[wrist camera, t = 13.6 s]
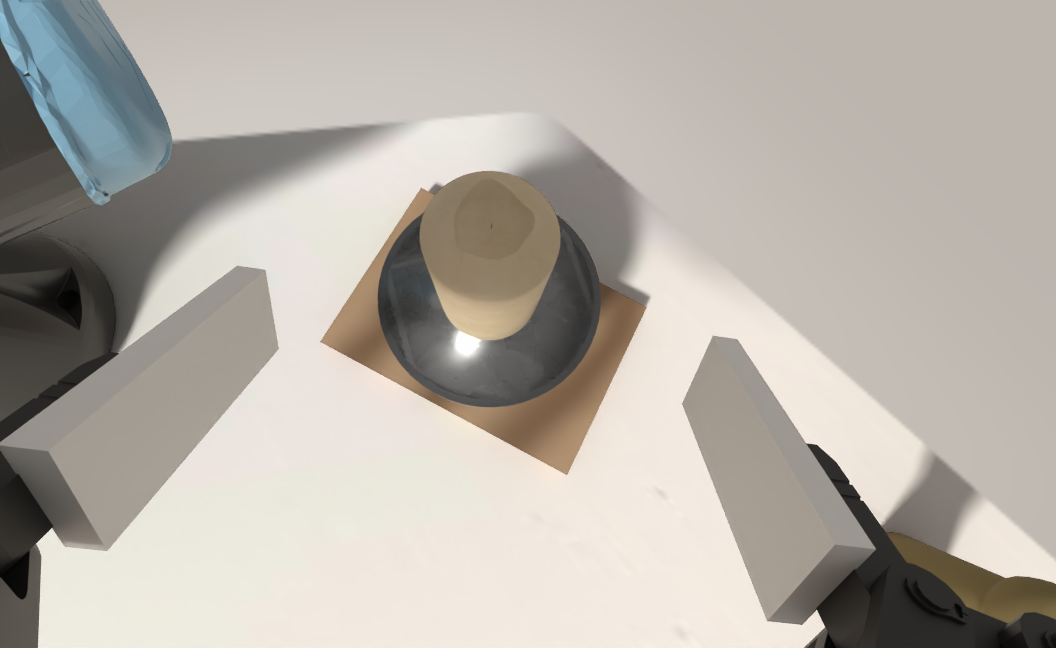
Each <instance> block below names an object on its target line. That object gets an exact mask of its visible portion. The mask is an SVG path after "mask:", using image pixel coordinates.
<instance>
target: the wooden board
mask: <svg viewBox="0 0 1056 648" xmlns="http://www.w3.org/2000/svg"><path fill="white" fill-rule="evenodd" d="M434 196H435V195H434V194H432V193H430V192H428V191H426V190H424V189H422V188H421V189H420V191H419V192H418V194H417V195H416V197H415V198H414V200H413V201H412V203H411V204H410V206H409V207H408V209H407V210H406V212H405V214H404V215H403V217H402V218H401V220H400V221H399V223H398V224H397V226H396V227H395V229H394V230H393V232H392V233H391V235H390V236H389V238H388V239H387V241H386V242H385V244H384V246H383V247H382V249H381V250H380V252H379V253H378V255H377V256H376V258H375V259H374V261H373V262H372V264H371V265H370V267H369V268H368V270H367V271H366V273H365V274H364V276H363V278H362V279H361V281H360V282H359V284H358V285H357V287H356V288H355V290H354V291H353V293H352V294H351V296H350V297H349V299H348V300H347V302H346V303H345V305H344V306H343V308H342V309H341V311H340V313H339V314H338V316H337V317H336V319H335V320H334V322H333V323H332V325H331V326H330V328H329V329H328V331H327V332H326V334H325V335H324V337H323V338H322V340H321V341H320V342H322V343H324V344H326V345H327V346H329V347H331V348H333V349H335V350H337V351H338V352H340V353H342V354H344V355H346V356H348V357H350V358H351V359H353V360H355V361H357V362H359V363H361V364H363V365H364V366H366V367H368V368H370V369H372V370H374V371H376V372H377V373H379V374H381V375H383V376H385V377H387V378H388V379H390V380H392V381H394V382H396V383H398V384H400V385H401V386H403V387H405V388H407V389H409V390H411V391H413V392H414V393H416V394H418V395H420V396H422V397H424V398H425V399H427V400H429V401H431V402H433V403H435V404H437V405H438V406H440V407H442V408H444V409H446V410H448V411H450V412H451V413H453V414H455V415H457V416H459V417H461V418H463V419H464V420H466V421H468V422H470V423H472V424H474V425H475V426H477V427H479V428H481V429H483V430H485V431H487V432H488V433H490V434H492V435H494V436H496V437H498V438H500V439H501V440H503V441H505V442H507V443H509V444H511V445H512V446H514V447H516V448H518V449H520V450H522V451H524V452H525V453H527V454H529V455H531V456H533V457H535V458H537V459H538V460H540V461H542V462H544V463H546V464H548V465H549V466H551V467H553V468H555V469H557V470H559V471H561V472H562V473H564V474H566V475H567V474H568V472H569V470H570V467H571V465H572V463H573V461H574V459H575V457H576V455H577V453H578V451H579V448H580V446H581V444H582V442H583V440H584V438H585V436H586V434H587V432H588V429H589V427H590V425H591V423H592V421H593V419H594V417H595V415H596V413H597V410H598V408H599V406H600V404H601V402H602V400H603V398H604V396H605V394H606V391H607V389H608V387H609V385H610V383H611V381H612V379H613V377H614V375H615V373H616V370H617V368H618V366H619V364H620V362H621V360H622V358H623V356H624V354H625V351H626V349H627V347H628V345H629V343H630V341H631V339H632V337H633V335H634V332H635V330H636V328H637V326H638V324H639V322H640V320H641V318H642V316H643V313H644V311H645V309H646V307H645V306H643V305H641V304H639V303H637V302H635V301H634V300H632V299H630V298H628V297H626V296H624V295H622V294H620V293H618V292H617V291H615V290H613V289H611V288H609V287H607V286H605V285H603V284H601V283H600V282H599V285H600V292H601V308H600V316H599V322H598V326H597V330H596V334H595V336H594V338H593V341H592V343H591V346H590V348H589V349H588V351H587V353H586V355H585V356H584V358H583V360H582V361H581V362H580V363H579V365H578V366H577V367H576V369H575V370H574V371H573V372H572V373H571V374H570V375H569V376H568V377H567V378H566V379H565V380H564V381H562V382H561V383H560V384H558V385H557V386H556V387H554V388H553V389H552V390H550V391H548V392H546V393H544V394H542V395H541V396H539V397H537V398H534V399H532V400H529V401H527V402H524V403H521V404H516V405H512V406H507V407H498V408H480V407H473V406H467V405H463V404H459V403H456V402H453V401H450V400H448V399H446V398H443V397H441V396H439V395H437V394H435V393H434V392H432V391H430V390H429V389H427V388H426V387H424V386H422V385H421V384H420V383H419V382H418V381H416V380H415V379H414V378H413V377H412V376H410V374H409V373H408V372H407V371H406V370H405V369H404V368H403V367H402V366H401V364H400V363H399V362H398V360H397V359H396V357H395V356H394V354H393V353H392V351H391V349H390V347H389V345H388V343H387V341H386V339H385V336H384V333H383V330H382V327H381V324H380V318H379V313H378V286H379V279H380V275H381V271H382V267H383V265H384V262H385V260H386V257H387V255H388V253H389V251H390V249H391V247H392V246H393V244H394V242H395V241H396V239H397V238H398V237H399V235H400V234H401V233H402V231H403V230H404V229H405V228H406V227H407V226H408V225H409V224H410V223H411V222H412V221H413V220H415V219H416V218H417V217H418V216H420V215H421V214H422V213H423V212H425V209H426V207H427V206H428V204H429V202H430V201H431V199H432V198H433V197H434Z"/></svg>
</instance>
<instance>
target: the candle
mask: <svg viewBox="0 0 1056 648" xmlns="http://www.w3.org/2000/svg"><path fill="white" fill-rule="evenodd" d="M560 237H561V236H560V227H559V223H558V219H557V217H556V214H555V211H554V210H553V208H552V206H551V204H550V203H549V201H548V200H547V199H546V197H545V196H544V195H543V194H542V193H541V192H540V191H539V190H538V189H537V188H535V187H534V186H533V185H531V184H530V183H528V182H527V181H525V180H523V179H521V178H519V177H516V176H514V175H511V174H507V173H502V172H495V171H482V172H475V173H470V174H467V175H464V176H461V177H459V178H456V179H455V180H453V181H451V182H449V183H448V184H447V185H445V186H444V187H442V188H441V189H440V190H439V191H438V192H437V193H436V194H435V196H434V197H433V198H432V199H431V201H430V202H429V204H428V206H427V207H426V209H425V212H424V214H423V217H422V221H421V225H420V245H421V251H422V254H423V257H424V260H425V262H426V265H427V268H428V270H429V273H430V276H431V278H432V281H433V284H434V286H435V289H436V292H437V294H438V297H439V300H440V302H441V305H442V307H443V310H444V312H445V314H446V316H447V317H448V319H449V320H450V322H451V323H452V324H453V325H454V326H455V327H456V328H457V329H458V330H460V331H461V332H463V333H464V334H466V335H468V336H470V337H473V338H476V339H480V340H499V339H503V338H506V337H509V336H511V335H513V334H515V333H516V332H518V331H519V330H520V329H522V328H523V327H524V326H525V325H526V324H527V322H528V321H529V320H530V318H531V317H532V315H533V313H534V311H535V309H536V307H537V304H538V302H539V300H540V297H541V295H542V293H543V290H544V288H545V286H546V284H547V281H548V279H549V277H550V274H551V272H552V270H553V267H554V265H555V263H556V260H557V257H558V254H559V249H560Z"/></svg>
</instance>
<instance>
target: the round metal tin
mask: <svg viewBox="0 0 1056 648" xmlns="http://www.w3.org/2000/svg"><path fill="white" fill-rule="evenodd" d="M423 214H424V212H423V213H422V214H421V215H420V216H418V217H417V218H416V219H415V220H413V221H412V222H411V223H410V224H409V225H408V226H407V227H406V228H405V229H404V230H403V231H402V233H401V234H400V235H399V237H398V238H397V239H396V241H395V242H394V244H393V246H392V247H391V249H390V251H389V253H388V255H387V257H386V260H385V262H384V265H383V267H382V271H381V275H380V279H379V286H378V313H379V318H380V324H381V327H382V330H383V333H384V336H385V339H386V341H387V343H388V345H389V347H390V349H391V351H392V353H393V354H394V356H395V357H396V359H397V360H398V362H399V363H400V364H401V366H402V367H403V368H404V369H405V370H406V371H407V372H408V373H409V374H410V376H412V377H413V378H414V379H415V380H416V381H418V382H419V383H420V384H421V385H422V386H424V387H426V388H427V389H429V390H430V391H432V392H434V393H435V394H437V395H439V396H441V397H443V398H446V399H448V400H450V401H453V402H456V403H459V404H463V405H467V406H473V407H480V408H498V407H507V406H512V405H516V404H521V403H524V402H527V401H529V400H532V399H534V398H537V397H539V396H541V395H542V394H544V393H546V392H548V391H550V390H552V389H553V388H554V387H556V386H557V385H558V384H560V383H561V382H562V381H564V380H565V379H566V378H567V377H568V376H569V375H570V374H571V373H572V372H573V371H574V370H575V369H576V367H577V366H578V365H579V363H580V362H581V361H582V360H583V358H584V356H585V355H586V353H587V351H588V349H589V348H590V346H591V343H592V341H593V338H594V336H595V334H596V330H597V326H598V322H599V316H600V308H601V292H600V285H599V279H598V275H597V272H596V268H595V265H594V263H593V260H592V258H591V256H590V253H589V252H588V250H587V248H586V247H585V245H584V243H583V242H582V240H581V239H580V238H579V236H578V235H577V234H576V233H575V231H574V230H573V229H572V228H571V227H570V226H569V225H568V224H567V223H566V222H565V221H564V220H562V219H561V218H560V217H559V216H557V215H556V217H557V219H558V223H559V227H560V236H561V237H560V249H559V254H558V257H557V260H556V263H555V265H554V267H553V270H552V272H551V274H550V277H549V279H548V281H547V284H546V286H545V288H544V290H543V293H542V295H541V297H540V300H539V302H538V304H537V307H536V309H535V311H534V313H533V315H532V317H531V318H530V320H529V321H528V322H527V324H526V325H525V326H524V327H523V328H522V329H520V330H519V331H518V332H516V333H515V334H513V335H511V336H509V337H506V338H503V339H499V340H480V339H476V338H473V337H470V336H468V335H466V334H464V333H463V332H461V331H460V330H458V329H457V328H456V327H455V326H454V325H453V324H452V323H451V322H450V320H449V319H448V317H447V316H446V314H445V312H444V310H443V307H442V305H441V302H440V300H439V297H438V294H437V292H436V289H435V286H434V284H433V281H432V278H431V276H430V273H429V270H428V268H427V265H426V262H425V260H424V257H423V254H422V251H421V245H420V225H421V221H422V217H423Z"/></svg>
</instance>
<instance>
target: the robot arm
mask: <svg viewBox="0 0 1056 648" xmlns="http://www.w3.org/2000/svg"><path fill="white" fill-rule="evenodd" d="M171 153H172V137H171V133H170V129H169V126H168V123H167V120H166V118H165V116H164V114H163V111H162V109H161V107H160V105H159V103H158V101H157V99H156V97H155V95H154V93H153V91H152V89H151V88H150V86H149V84H148V82H147V80H146V79H145V77H144V75H143V73H142V72H141V70H140V68H139V66H138V65H137V63H136V61H135V60H134V58H133V56H132V54H131V53H130V51H129V50H128V48H127V46H126V45H125V43H124V41H123V40H122V38H121V37H120V35H119V33H118V32H117V30H116V29H115V27H114V25H113V24H112V22H111V21H110V19H109V17H108V16H107V14H106V13H105V11H104V10H103V8H102V7H101V5H100V4H99V2H98V1H97V0H0V648H38V627H39V601H40V575H41V554H40V551H39V549H38V547H37V545H36V543H37V542H38V541H39V540H40V539H41V538H42V537H43V536H44V535H45V534H46V533H47V532H48V531H49V530H50V529H51V528H53V530H54V531H55V533H56V534H57V536H58V537H59V539H60V540H61V542H62V543H63V545H64V546H66V547H75V548H85V549H94V550H104V551H107V550H108V549H109V548H110V547H111V546H112V545H113V543H114V542H115V541H116V540H117V539H118V537H119V536H120V535H121V534H122V533H123V532H124V530H125V529H126V528H127V527H128V526H129V524H130V523H131V522H132V521H133V520H134V519H135V517H136V516H137V515H138V514H139V513H140V512H141V510H142V509H143V508H144V507H145V506H146V504H147V503H148V502H149V501H150V500H151V499H152V497H153V496H154V495H155V494H156V493H157V492H158V490H159V489H160V488H161V487H162V486H163V484H164V483H165V482H166V481H167V480H168V479H169V477H170V476H171V475H172V474H173V473H174V471H175V470H176V469H177V468H178V467H179V466H180V464H181V463H182V462H183V461H184V460H185V459H186V457H187V456H188V455H189V454H190V453H191V451H192V450H193V449H194V448H195V447H196V446H197V444H198V443H199V442H200V441H201V440H202V438H203V437H204V436H205V435H206V434H207V433H208V431H209V430H210V429H211V428H212V427H213V426H214V424H215V423H216V422H217V421H218V420H219V418H220V417H221V416H222V415H223V414H224V413H225V411H226V410H227V409H228V408H229V407H230V405H231V404H232V403H233V402H234V401H235V400H236V398H237V397H238V396H239V395H240V394H241V393H242V391H243V390H244V389H245V388H246V387H247V385H248V384H249V383H250V382H251V381H252V380H253V378H254V377H255V376H256V375H257V374H258V373H259V371H260V370H261V369H262V368H263V367H264V365H265V364H266V363H267V362H268V361H269V360H270V358H271V357H272V356H273V355H274V354H275V352H276V351H277V350H278V349H279V348H278V342H277V336H276V330H275V325H274V319H273V313H272V307H271V301H270V295H269V289H268V283H267V277H266V271H265V270H262V269H255V268H248V267H242V266H237V267H235V268H234V269H232V270H231V271H230V272H228V273H227V274H226V275H224V276H223V277H222V278H220V279H219V280H218V281H216V282H215V283H214V284H212V285H211V286H210V287H208V288H207V289H206V290H204V291H203V292H202V293H200V294H199V295H198V296H196V297H195V298H193V299H192V300H191V301H189V302H188V303H187V304H185V305H184V306H183V307H181V308H180V309H179V310H177V311H176V312H175V313H173V314H172V315H171V316H169V317H168V318H167V319H165V320H164V321H163V322H161V323H160V324H158V325H157V326H156V327H154V328H153V329H152V330H150V331H149V332H148V333H146V334H145V335H144V336H142V337H141V338H140V339H138V340H137V341H136V342H134V343H133V344H132V345H130V346H129V347H128V348H126V349H125V350H124V351H122V352H121V353H113V352H109V349H110V346H111V343H112V339H113V334H114V327H115V308H114V301H113V297H112V293H111V290H110V287H109V285H108V283H107V281H106V279H105V277H104V275H103V274H102V272H101V271H100V269H99V268H98V267H97V266H96V265H95V263H94V262H93V261H92V260H91V259H90V258H88V257H87V256H86V255H85V254H84V253H82V252H81V251H79V250H78V249H76V248H75V247H73V246H71V245H69V244H67V243H65V242H63V241H60V240H58V239H55V238H53V237H51V236H48V235H46V234H44V233H41V232H39V231H36V229H38V228H41V227H43V226H45V225H47V224H50V223H52V222H54V221H57V220H59V219H61V218H63V217H66V216H68V215H70V214H73V213H75V212H77V211H79V210H82V209H84V208H86V207H88V206H91V205H93V204H96V205H100V206H101V205H104V204H107V203H108V202H109V201H110V200H111V196H112V195H113V194H115V193H117V192H119V191H121V190H123V189H125V188H127V187H129V186H131V185H133V184H135V183H137V182H139V181H141V180H143V179H145V178H147V177H149V176H151V175H153V174H155V173H157V172H159V171H160V170H161V169H162V168H163V167H164V166H165V165H166V164H167V162H168V161H169V159H170V156H171ZM108 352H109V353H108ZM682 405H683V407H684V410H685V412H686V415H687V418H688V420H689V423H690V425H691V428H692V430H693V433H694V435H695V438H696V441H697V443H698V446H699V448H700V451H701V453H702V456H703V458H704V461H705V464H706V466H707V469H708V471H709V474H710V476H711V479H712V481H713V484H714V486H715V489H716V492H717V494H718V497H719V499H720V502H721V504H722V507H723V509H724V512H725V515H726V517H727V520H728V522H729V525H730V527H731V530H732V532H733V535H734V538H735V540H736V543H737V545H738V548H739V550H740V553H741V555H742V558H743V561H744V563H745V566H746V568H747V571H748V573H749V576H750V578H751V581H752V584H753V586H754V589H755V591H756V594H757V596H758V599H759V601H760V604H761V607H762V609H763V612H764V614H765V617H766V619H767V621H772V622H781V623H791V624H800V625H802V624H803V623H804V622H805V621H806V620H807V619H808V618H809V617H810V616H811V615H812V614H813V613H814V612H815V611H816V610H817V611H818V613H819V615H820V617H821V619H822V621H823V623H824V625H825V628H824V629H823V630H822V631H821V632H820V633H819V634H818V635H817V636H816V637H815V638H814V639H813V640H812V641H811V642H810V643H809V644H807V645H806V646H805V647H804V648H1056V620H1055V619H1053V618H1052V617H1049V616H1046V615H1043V614H1040V613H1037V612H1027V613H1023V614H1022V615H1020V616H1019V617H1017V618H1016V619H1014V620H1013V621H1011V622H1010V623H1006V622H1003V621H1001V620H998V619H996V618H993V617H991V616H988V615H986V614H983V613H981V612H979V611H976V610H974V609H971V608H969V607H966V605H965V604H964V602H963V601H962V599H961V598H960V597H959V596H958V595H957V594H956V593H955V592H954V591H953V590H952V589H951V588H950V587H949V586H948V585H947V584H946V583H945V582H943V581H942V580H941V579H939V578H938V577H937V576H935V575H934V574H932V573H931V572H929V571H927V570H925V569H923V568H921V567H919V566H917V565H915V564H911V563H907V562H906V561H905V559H904V558H903V557H902V555H901V554H900V552H899V551H898V550H897V548H896V547H895V545H894V544H893V542H892V541H891V540H890V538H889V537H888V535H887V534H886V532H885V531H884V530H883V528H882V527H881V525H880V524H879V522H878V521H877V520H876V518H875V517H874V515H873V514H872V513H871V511H870V510H869V508H868V507H867V505H866V504H865V503H864V501H861V500H860V495H859V494H858V493H857V491H856V490H855V488H854V487H853V485H850V484H849V482H850V481H849V480H848V478H847V477H846V476H845V474H844V473H843V471H842V470H841V468H840V467H839V466H838V464H837V463H836V462H835V461H834V460H833V459H832V458H831V457H830V456H829V455H828V454H826V453H825V452H824V451H823V450H822V449H821V448H820V447H819V446H818V445H814V444H806V443H805V441H804V440H803V438H802V437H801V435H800V433H799V432H798V430H797V429H796V427H795V426H794V424H793V423H792V421H791V420H790V418H789V417H788V415H787V414H786V412H785V411H784V409H783V408H782V406H781V405H780V403H779V402H778V400H777V399H776V397H775V396H774V394H773V393H772V391H771V390H770V388H769V387H768V385H767V384H766V382H765V381H764V379H763V378H762V376H761V374H760V373H759V371H758V370H757V368H756V367H755V365H754V364H753V362H752V361H751V359H750V358H749V356H748V355H747V353H746V352H745V350H744V349H743V347H742V346H741V344H740V343H739V341H738V340H737V339H731V338H724V337H717V336H713V337H712V339H711V341H710V343H709V346H708V348H707V350H706V352H705V354H704V357H703V359H702V361H701V363H700V366H699V368H698V370H697V372H696V374H695V377H694V379H693V381H692V383H691V385H690V388H689V390H688V392H687V394H686V397H685V399H684V401H683V403H682Z"/></svg>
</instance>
